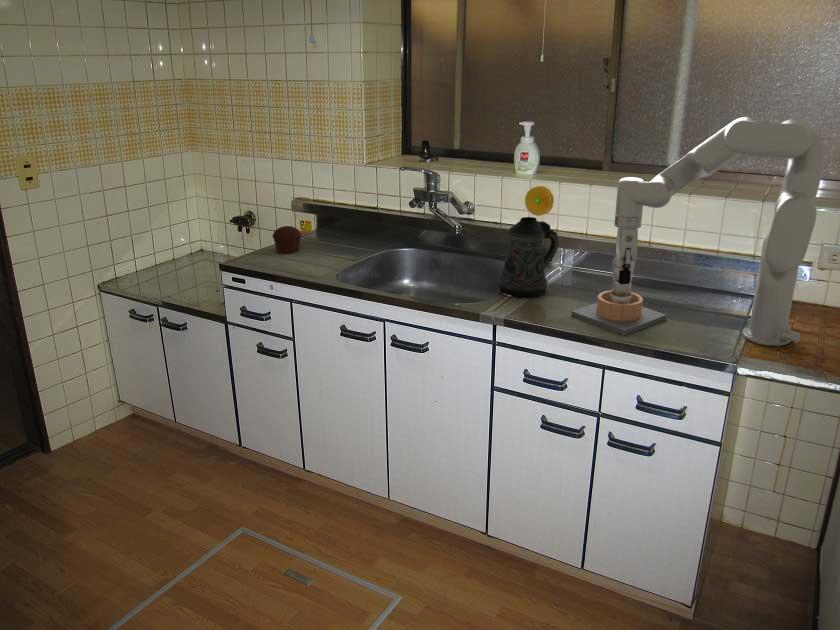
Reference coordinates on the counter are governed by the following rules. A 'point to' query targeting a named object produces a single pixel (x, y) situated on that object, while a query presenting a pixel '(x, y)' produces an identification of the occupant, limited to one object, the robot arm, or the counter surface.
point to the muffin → (287, 240)
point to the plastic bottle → (621, 291)
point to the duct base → (619, 325)
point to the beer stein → (527, 259)
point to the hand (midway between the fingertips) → (622, 279)
